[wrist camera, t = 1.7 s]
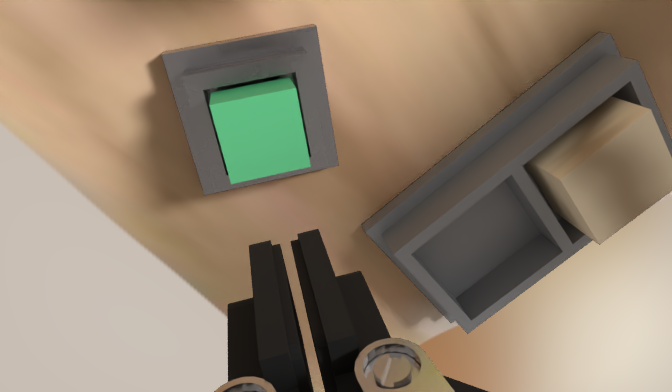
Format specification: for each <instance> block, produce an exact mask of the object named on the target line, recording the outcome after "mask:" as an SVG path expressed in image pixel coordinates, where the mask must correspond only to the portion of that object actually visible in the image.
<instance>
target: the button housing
mask: <svg viewBox="0 0 672 392" xmlns="http://www.w3.org/2000/svg"><path fill="white" fill-rule="evenodd" d="M162 58H163V62H164V65H165V68H166V72H167V75H168V78H169V81H170V85H171V88H172V91H173V94H174V98H175V101H176V104H177V107H178V111H179V114H180V117H181V120H182V124H183V127H184V130H185V134H186V137H187V140H188V143H189V147H190V150H191V153H192V156H193V160H194V163H195V166H196V169H197V173H198V176H199V179H200V182H201V186H202V189H203V192H204V195H208V194H213V193H217V192H222V191H226V190H231V189H235V188H240V187H244V186H249V185H253V184H258V183H262V182H267V181H271V180H276V179H280V178H285V177H289V176H294V175H298V174H303V173H307V172H312V171H316V170H321V169H325V168H330V167H334V166H339V165H338V158H337V152H336V146H335V140H334V133H333V127H332V121H331V114H330V108H329V102H328V96H327V89H326V83H325V77H324V71H323V64H322V58H321V52H320V46H319V39H318V33H317V27H316V25H314V24H311V25H306V26H300V27H295V28H289V29H284V30H279V31H273V32H268V33H262V34H257V35H252V36H246V37H241V38H235V39H230V40H225V41H219V42H214V43H208V44H203V45H198V46H192V47H187V48H181V49H176V50H171V51H165V52H163V53H162ZM288 77H290V79H291V80H292V82H293V84H294V85H295V87H296V91H297V96H298V101H299V107H300V112H301V117H302V123H303V128H304V133H305V138H306V144H307V149H308V154H309V160H310V165H311V167H307V168H302V169H298V170H293V171H289V172H284V173H280V174H275V175H271V176H266V177H262V178H257V179H253V180H248V181H244V182H239V183H235V184H231V182H230V178H229V175H228V171H227V167H226V164H225V160H224V156H223V153H222V149H221V145H220V142H219V138H218V135H217V131H216V127H215V124H214V120H213V116H212V113H211V109H210V96H211V93H212V92H217V91H222V90H227V89H232V88H237V87H242V86H247V85H252V84H258V83H263V82H268V81H273V80H278V79H283V78H288Z"/></svg>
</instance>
